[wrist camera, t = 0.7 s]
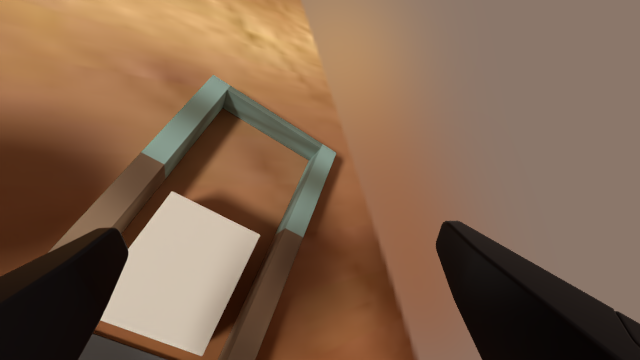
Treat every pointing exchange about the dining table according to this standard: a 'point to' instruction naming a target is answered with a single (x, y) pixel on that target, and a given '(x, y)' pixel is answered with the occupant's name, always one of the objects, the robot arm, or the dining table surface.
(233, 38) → the dining table surface
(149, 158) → the box
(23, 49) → the dining table surface
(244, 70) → the dining table surface
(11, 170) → the dining table surface
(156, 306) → the ivory block
